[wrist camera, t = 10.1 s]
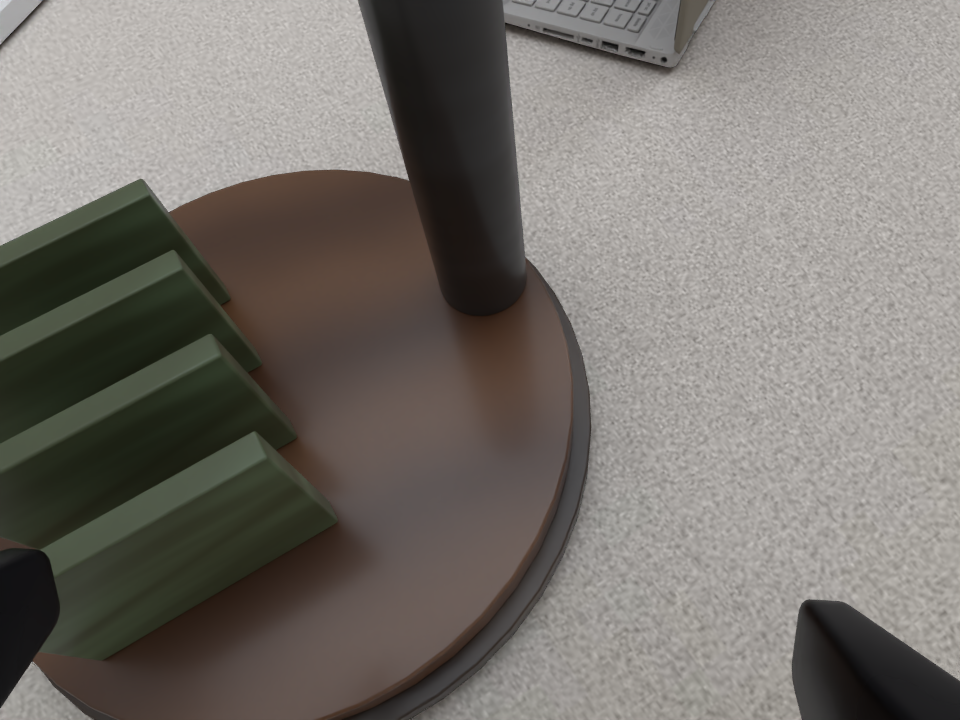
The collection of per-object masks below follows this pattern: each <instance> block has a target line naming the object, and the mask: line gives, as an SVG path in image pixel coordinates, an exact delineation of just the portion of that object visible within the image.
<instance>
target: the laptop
mask: <svg viewBox="0 0 960 720" xmlns="http://www.w3.org/2000/svg"><path fill="white" fill-rule="evenodd" d="M714 2H715V0H503V8H504V20H505V22H506V23H509V24H512V25H516V26H519V27H523V28H526V29H530V30H533V31H536V32H540V33H543V34H547V35H550V36H554V37H557V38H561V39H564V40H568V41H571V42H575V43H578V44H582V45H585V46H589V47H593V48H596V49H600V50H604V51H607V52H611V53H614V54H618V55H622V56H626V57H630V58H634V59H638V60H642V61H645V62H649V63H653V64H657V65H661V66H665V67H675V66H676V65H677V64H678V62H679V60H680V59H681V57H682V56H683V54H684V52H685V51H686V49H687V47H688V42H689V41H690V39H691V37H692V36H693V34H694V33H695V32H696V30H697V29H698V27H699V25H700V24H701V22H702V20H703V19H704V17H706V15H707V14H708V12H709V10H710V8H711V7H712V5H713V3H714Z"/></svg>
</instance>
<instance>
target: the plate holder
mask: <svg viewBox="0 0 960 720" xmlns="http://www.w3.org/2000/svg"><path fill="white" fill-rule="evenodd" d="M358 3H359V6H360V10H361V13H362V17H363V20H364V24H365V27H366V31H367V34H368V38H369V41H370V45H371V48H372V52H373V55H374V59H375V62H376V66H377V69H378V72H379V76H380V79H381V83H382V86H383V90H384V93H385V97H386V100H387V104H388V107H389V111H390V114H391V118H392V121H393V125H394V128H395V132H396V135H397V139H398V142H399V146H400V149H401V153H402V156H403V160H404V163H405V167H406V170H407V174H408V177H409V181H408V180H404V179H401V178H398V177H392V176H387V175H382V174H376V173H371V172H361V171H348V170H313V171H300V172H292V173H285V174H277V175H271V176H267V177H263V178H259V179H254V180H250V181H246V182H242V183H239V184H236V185H233V186H230V187H227V188H224V189H221V190H218V191H215V192H211V193H209V194H207V195H205V196H202V197H200V198H198V199H195V200H193V201H191V202H188V203H186V204H184V205H182V206H180V207H178V208H176V209H174V210H172V211H170V212H168V211H167V210H166V208H165V207H164V206H163V204H162V203H161V202H160V201H159V199H158V198H157V197H156V195H155V194H154V193H153V191H152V190H151V189H150V188H149V186H148V185H147V184H146V182H145V181H144V180H143V179H139V180H137V181H134V182H132V183H130V184H128V185H126V186H124V187H122V188H120V189H118V190H116V191H114V192H112V193H109V194H107V195H105V196H103V197H101V198H99V199H97V200H95V201H93V202H91V203H89V204H87V205H84V206H82V207H80V208H78V209H76V210H74V211H72V212H70V213H68V214H66V215H64V216H61V217H59V218H57V219H55V220H53V221H51V222H49V223H47V224H45V225H43V226H41V227H39V228H36V229H34V230H32V231H30V232H28V233H26V234H24V235H22V236H20V237H18V238H16V239H14V240H11V241H9V242H7V243H5V244H3V245H1V246H0V551H2V550H5V549H8V548H24V549H38V550H41V551H43V552H45V553H46V555H47V556H48V557H49V559H50V562H51V567H52V571H53V575H54V580H55V584H56V588H57V593H58V597H59V602H60V615H59V619H58V621H57V624H56V626H55V628H54V629H53V631H52V632H51V634H50V635H49V637H48V638H47V640H46V641H45V643H44V644H43V646H42V647H41V649H40V650H39V652H38V653H37V655H36V656H35V658H34V659H33V662H34V663H35V664H36V665H37V666H38V667H39V668H40V669H41V670H42V671H43V672H44V673H45V674H46V675H47V676H48V677H49V678H50V679H51V680H52V681H53V682H54V683H55V684H56V685H58V686H59V687H61V688H62V689H63V690H65V691H66V692H68V693H69V694H71V695H72V696H74V697H75V698H77V699H78V700H80V701H81V702H83V703H84V704H86V705H87V706H89V707H90V708H92V709H94V710H97V711H99V712H101V713H103V714H106V715H108V716H110V717H112V718H115V719H117V720H342V719H345V718H347V717H350V716H353V715H355V714H358V713H360V712H363V711H366V710H368V709H371V708H373V707H375V706H377V705H379V704H381V703H382V702H384V701H386V700H388V699H390V698H391V697H393V696H395V695H397V694H399V693H401V692H402V691H404V690H406V689H408V688H410V687H411V686H413V685H415V684H417V683H418V682H419V681H421V680H422V679H423V678H425V677H426V676H427V675H429V674H430V673H431V672H433V671H434V670H436V669H437V668H438V667H440V666H441V665H442V664H444V663H445V662H446V661H448V660H449V659H450V658H452V657H453V656H454V655H455V654H456V653H457V652H459V651H460V650H461V649H462V648H463V647H464V646H465V645H466V644H467V643H468V642H469V641H470V640H471V639H472V638H473V637H474V636H475V635H476V634H477V633H478V632H479V631H480V630H481V629H482V628H483V627H484V626H486V625H487V624H488V622H489V621H490V620H491V619H492V617H493V616H494V615H495V614H496V612H497V611H498V610H499V609H500V607H501V606H502V605H503V604H504V602H505V601H506V600H507V599H508V598H509V596H510V595H511V594H512V593H513V591H514V590H515V589H516V588H517V586H518V584H519V583H520V581H521V579H522V578H523V576H524V574H525V573H526V571H527V569H528V568H529V566H530V564H531V563H532V561H533V560H534V558H535V556H536V555H537V553H538V551H539V550H540V547H541V545H542V543H543V541H544V538H545V536H546V534H547V531H548V529H549V527H550V525H551V522H552V520H553V518H554V515H555V513H556V511H557V507H558V504H559V500H560V497H561V493H562V490H563V486H564V483H565V479H566V476H567V472H568V466H569V459H570V452H571V445H572V438H573V376H572V370H571V363H570V356H569V350H568V345H567V341H566V338H565V335H564V332H563V328H562V325H561V322H560V319H559V315H558V313H557V311H556V308H555V306H554V304H553V302H552V300H551V298H550V296H549V294H548V292H547V290H546V288H545V286H544V284H543V282H542V281H541V279H540V278H539V276H538V275H537V273H536V272H535V270H534V269H533V267H532V266H531V264H530V263H529V262H528V260H527V259H526V257H525V251H524V239H523V228H522V216H521V205H520V193H519V181H518V170H517V158H516V147H515V135H514V124H513V112H512V101H511V89H510V78H509V66H508V54H507V43H506V31H505V20H504V8H503V0H358Z"/></svg>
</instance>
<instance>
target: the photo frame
mask: <svg viewBox="0 0 960 720" xmlns="http://www.w3.org/2000/svg"><path fill="white" fill-rule="evenodd" d="M42 1H43V0H0V44H1V43H2V42H3V41H4V40H5V39H6V38H7V37H8V36H9V35H10V34H11V33H12V32H13V31H14V30H15V28H16V27H17V26H18V25H19V24H20V23H21V22H22V21H23V20H24V19H25V18H26V17H27V16H28V15H29V14H30V13H31V12H32V11H33V10H34V9H35V8H36V7H37V6H38V5H39V4H40V3H41V2H42Z"/></svg>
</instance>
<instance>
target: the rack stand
mask: <svg viewBox="0 0 960 720" xmlns="http://www.w3.org/2000/svg"><path fill="white" fill-rule="evenodd" d="M526 259H527V258H526ZM527 260H528V259H527ZM528 262H529V263H530V264H531V266H532V267H533V269H534V270H535V272H536V273H537V275H538V276H539V278H540V279H541V281H542V282H543V284H544V286H545V288H546V290H547V292H548V294H549V296H550V298H551V300H552V302H553V304H554V306H555V308H556V311H557V313H558V315H559V319H560V322H561V325H562V328H563V332H564V335H565V338H566V341H567V345H568V350H569V356H570V363H571V370H572V376H573V438H572V445H571V452H570V459H569V466H568V472H567V476H566V479H565V483H564V486H563V490H562V493H561V497H560V500H559V504H558V507H557V511H556V513H555V515H554V518H553V520H552V522H551V525H550V527H549V529H548V531H547V534H546V536H545V538H544V541H543V543H542V545H541V547H540V550H539V551H538V553H537V555H536V556H535V558H534V560H533V561H532V563H531V564H530V566H529V568H528V569H527V571H526V573H525V574H524V576H523V578H522V579H521V581H520V583H519V584H518V586H517V588H516V589H515V590H514V591H513V593H512V594H511V595H510V596H509V598H508V599H507V600H506V601H505V602H504V604H503V605H502V606H501V607H500V609H499V610H498V611H497V612H496V614H495V615H494V616H493V617H492V619H491V620H490V621H489V622H488V624H487V625H486V626H484V627H483V628H482V629H481V630H480V631H479V632H478V633H477V634H476V635H475V636H474V637H473V638H472V639H471V640H470V641H469V642H468V643H467V644H466V645H465V646H464V647H463V648H462V649H461V650H460V651H459V652H457V653H456V654H455V655H454V656H453V657H452V658H450V659H449V660H448V661H446V662H445V663H444V664H442V665H441V666H440V667H438V668H437V669H436V670H434V671H433V672H431V673H430V674H429V675H427V676H426V677H425V678H423V679H422V680H421V681H419V682H418V683H417V684H415V685H413V686H411V687H410V688H408V689H406V690H404V691H402V692H401V693H399V694H397V695H395V696H393V697H391V698H390V699H388V700H386V701H384V702H382V703H381V704H379V705H377V706H375V707H373V708H371V709H368V710H366V711H363V712H360V713H358V714H355V715H353V716H350V717H347V718H345V719H342V720H409V719H411V718H412V717H414V716H416V715H417V714H419V713H420V712H422V711H424V710H425V709H427V708H429V707H430V706H432V705H434V704H435V703H437V702H439V701H440V700H442V699H444V698H445V697H446V696H447V695H449V694H450V693H451V692H452V691H454V690H455V689H456V688H457V687H459V686H460V685H461V684H462V683H464V682H465V681H466V680H467V679H468V678H470V677H471V676H472V675H473V674H475V673H476V672H477V671H478V670H480V669H481V668H482V667H483V666H484V665H485V664H486V663H487V662H488V661H489V660H490V659H491V657H492V656H493V655H494V654H495V653H496V652H497V651H498V650H499V649H500V648H501V647H502V646H503V645H504V644H505V643H506V642H507V641H508V640H509V639H510V638H511V636H512V635H513V634H514V633H515V632H516V630H517V629H518V628H519V626H520V625H521V624H522V622H523V621H524V619H525V618H526V617H527V615H528V614H529V613H530V611H531V610H532V608H533V607H534V606H535V604H536V603H537V602H538V600H539V599H540V597H541V596H542V594H543V592H544V591H545V589H546V587H547V585H548V583H549V581H550V579H551V578H552V576H553V574H554V572H555V570H556V568H557V567H558V565H559V563H560V561H561V559H562V557H563V555H564V552H565V550H566V547H567V544H568V542H569V539H570V536H571V534H572V531H573V529H574V526H575V523H576V521H577V518H578V514H579V510H580V505H581V501H582V497H583V493H584V488H585V484H586V480H587V471H588V460H589V449H590V438H591V413H590V394H589V386H588V381H587V376H586V371H585V366H584V362H583V357H582V353H581V350H580V348H579V345H578V342H577V339H576V336H575V334H574V331H573V328H572V325H571V323H570V321H569V319H568V317H567V315H566V313H565V311H564V310H563V308H562V306H561V304H560V302H559V300H558V298H557V296H556V295H555V293H554V292H553V290H552V289H551V288H550V286H549V285H548V284H547V282H546V281H545V279H544V278H543V277H542V275H541V274H540V273H539V271H538V270H537V269H536V267H535V266H534V265H533V264H532V263H531V262H530V261H529V260H528ZM42 672H43V671H42ZM43 673H44V672H43ZM44 674H45V673H44ZM45 675H46V674H45ZM46 677H47V678H48V679H49V681H50V682H51V683H52V684H53V686H54V687H55V688H56V689H57V690H58V691H60V692H61V693H62V694H63V695H64V696H65V697H66V698H67V699H69V700H70V701H71V702H72V703H73V704H74V705H75V706H76V707H78V708H79V709H80V710H81V711H82V712H83V713H84V714H86V715H87V716H89V717H91V718H92V719H94V720H117V719H115V718H112V717H110V716H108V715H106V714H103V713H101V712H99V711H97V710H94V709H92V708H90V707H89V706H87V705H86V704H84V703H83V702H81V701H80V700H78V699H77V698H75V697H74V696H72V695H71V694H69V693H68V692H66V691H65V690H63V689H62V688H61V687H59V686H58V685H56V684H55V683H54V682H53V681H52V680H51V679H50V678H49V677H48V676H47V675H46Z"/></svg>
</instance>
